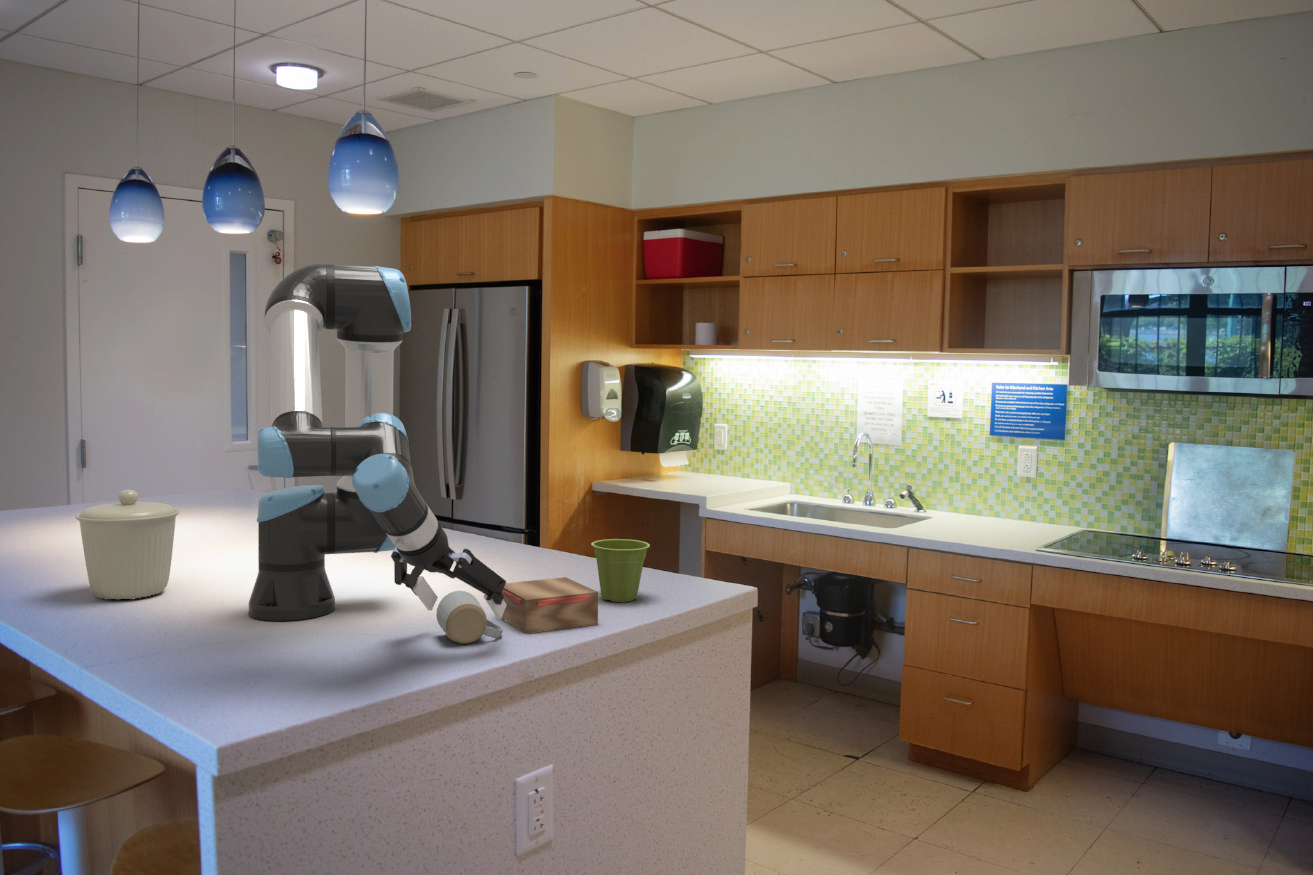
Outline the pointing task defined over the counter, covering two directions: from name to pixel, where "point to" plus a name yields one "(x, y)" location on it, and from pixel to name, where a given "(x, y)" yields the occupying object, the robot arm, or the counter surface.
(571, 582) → the wooden box
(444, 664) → the counter surface
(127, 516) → the canister
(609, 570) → the plant pot
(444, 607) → the ceramic mug
